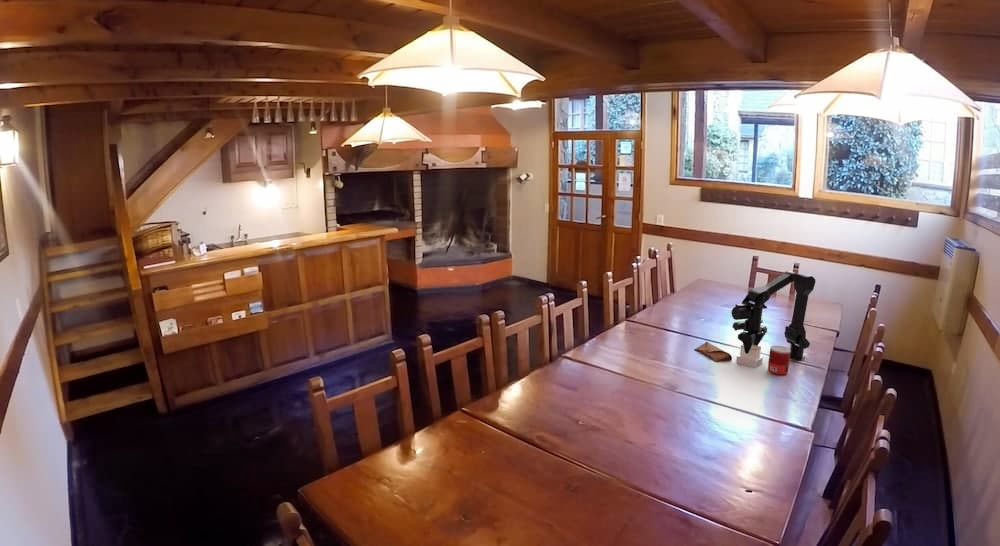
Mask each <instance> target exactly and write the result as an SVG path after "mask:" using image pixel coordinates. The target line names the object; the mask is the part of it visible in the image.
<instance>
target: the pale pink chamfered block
mask: <svg viewBox="0 0 1000 546" xmlns="http://www.w3.org/2000/svg"><path fill="white" fill-rule="evenodd" d="M763 359H764V357H763V356H760V357H759V358H758V359H757V360H753V359H749V358H745V357H741V356H740V353H739V354H738V355H736V359H735V362H736V363H737V364H741V365H744V366H749V367H752V368H755V369H756V368H758V367H759V366H761V365H762V364H763Z"/></svg>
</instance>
